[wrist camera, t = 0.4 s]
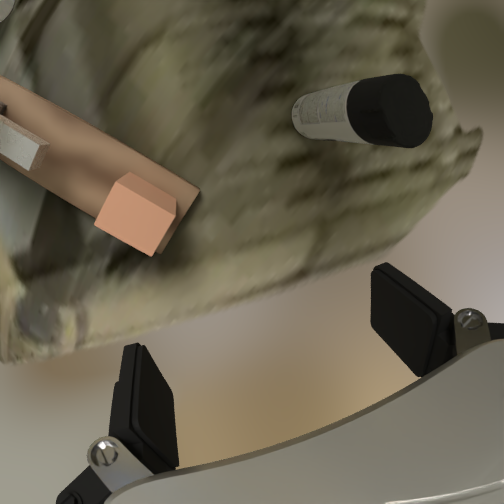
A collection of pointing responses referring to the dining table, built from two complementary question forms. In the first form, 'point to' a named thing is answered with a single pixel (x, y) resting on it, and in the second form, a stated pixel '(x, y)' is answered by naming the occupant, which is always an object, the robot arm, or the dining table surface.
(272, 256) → the dining table surface
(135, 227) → the socket
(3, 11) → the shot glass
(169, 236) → the base board
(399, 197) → the dining table surface
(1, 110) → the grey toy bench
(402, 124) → the spray can
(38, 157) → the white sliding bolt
